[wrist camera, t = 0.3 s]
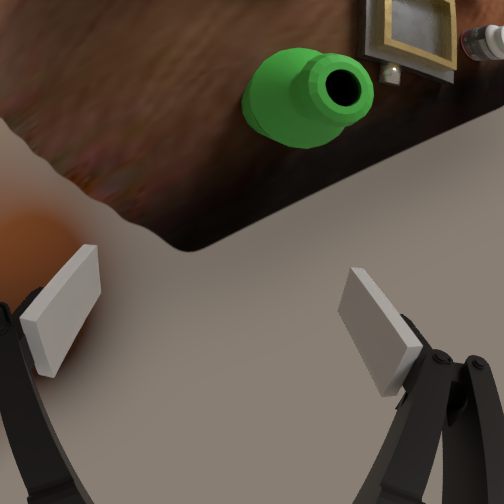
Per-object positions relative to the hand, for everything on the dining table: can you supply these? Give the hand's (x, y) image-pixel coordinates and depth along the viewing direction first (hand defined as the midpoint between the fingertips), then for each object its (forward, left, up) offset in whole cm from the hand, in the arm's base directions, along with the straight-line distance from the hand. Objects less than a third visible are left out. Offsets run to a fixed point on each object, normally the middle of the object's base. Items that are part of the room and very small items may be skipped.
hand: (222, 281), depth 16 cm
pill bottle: (-28, +38, -28) cm, 55 cm away
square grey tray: (-25, +24, -28) cm, 44 cm away
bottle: (-10, +6, -28) cm, 30 cm away
